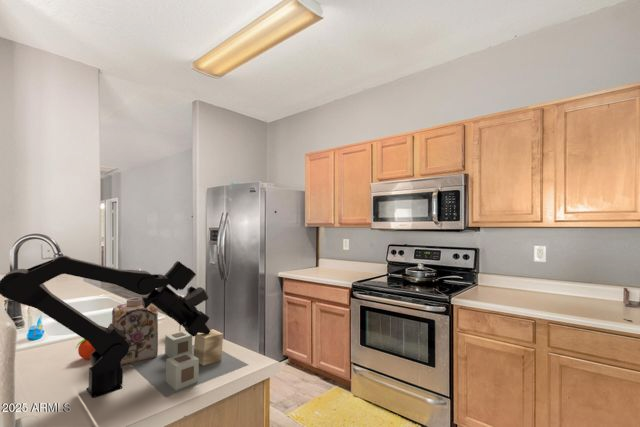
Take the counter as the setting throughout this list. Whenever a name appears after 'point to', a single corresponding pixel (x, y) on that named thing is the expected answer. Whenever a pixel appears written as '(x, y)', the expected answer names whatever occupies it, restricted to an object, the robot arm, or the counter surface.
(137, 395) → the counter surface
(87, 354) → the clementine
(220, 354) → the plain maple block
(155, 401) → the counter surface
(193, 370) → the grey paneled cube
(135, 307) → the decorative jar
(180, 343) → the brown paneled pale cube
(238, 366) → the slate rubber mat
